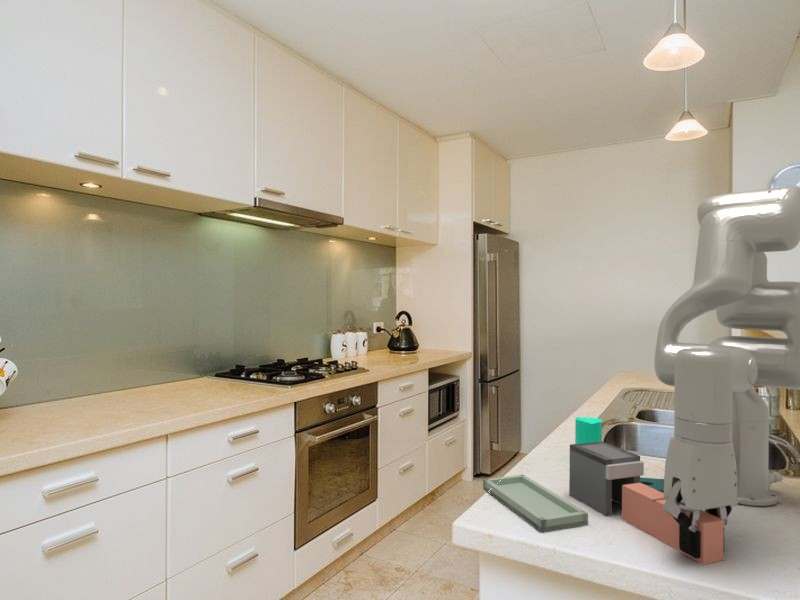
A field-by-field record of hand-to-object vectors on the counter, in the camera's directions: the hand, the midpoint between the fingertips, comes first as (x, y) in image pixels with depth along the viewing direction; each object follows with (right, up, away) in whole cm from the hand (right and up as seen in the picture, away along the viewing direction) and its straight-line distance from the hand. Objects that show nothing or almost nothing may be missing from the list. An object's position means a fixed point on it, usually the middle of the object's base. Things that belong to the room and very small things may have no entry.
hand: (701, 550), depth 76 cm
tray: (-21, -1, +18) cm, 28 cm away
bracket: (+6, -1, +24) cm, 25 cm away
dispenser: (-7, -1, +20) cm, 21 cm away
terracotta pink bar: (-2, -1, +6) cm, 6 cm away
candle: (-1, -1, +43) cm, 43 cm away
